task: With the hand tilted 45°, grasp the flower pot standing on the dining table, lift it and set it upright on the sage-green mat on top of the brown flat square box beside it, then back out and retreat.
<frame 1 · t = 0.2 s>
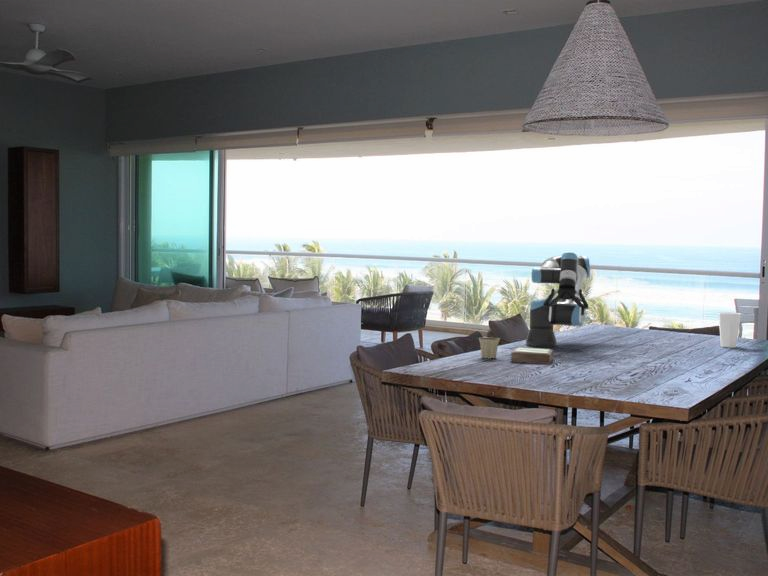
hand: (564, 320, 364), 15 cm above the table, tool tilted 35°, fingers open, 13 cm apart
flower pot: (488, 358, 349), on the table
brown flat square box: (532, 360, 343), on the table
cup: (728, 347, 400), on the table
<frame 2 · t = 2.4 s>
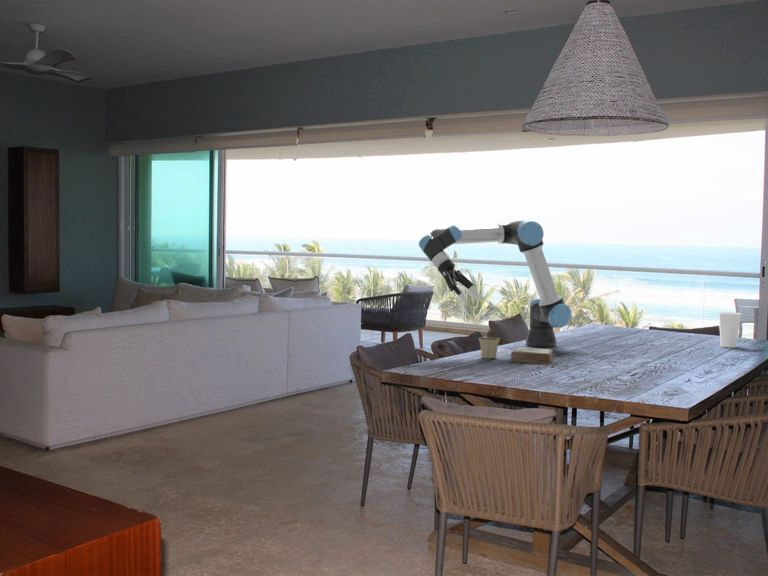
hand: (472, 299, 352), 25 cm above the table, tool tilted 45°, fingers open, 13 cm apart
nothing on the table moved.
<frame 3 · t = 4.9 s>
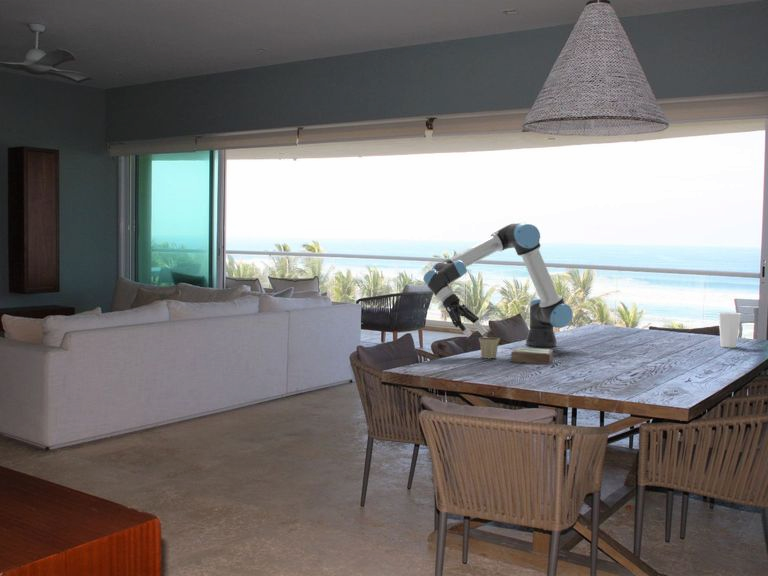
hand: (477, 334, 350), 10 cm above the table, tool tilted 45°, fingers open, 13 cm apart
nothing on the table moved.
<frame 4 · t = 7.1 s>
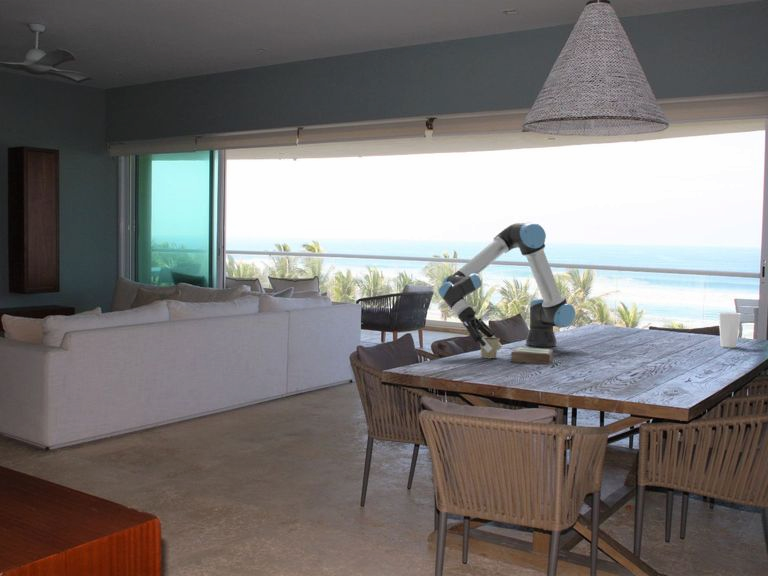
hand: (495, 349, 347), 4 cm above the table, tool tilted 45°, fingers closed on flower pot, 9 cm apart
flower pot: (488, 358, 349), on the table, touching gripper
everything else where it was.
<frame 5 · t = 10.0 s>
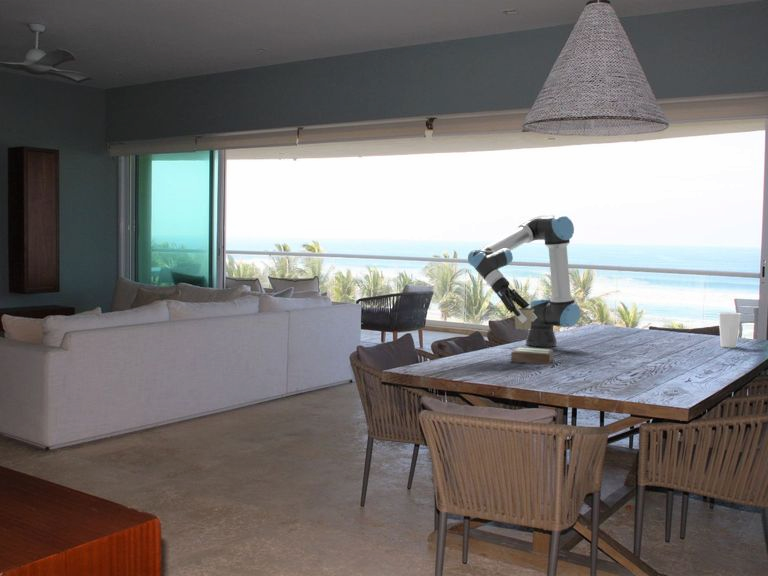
hand: (529, 320, 341), 17 cm above the table, tool tilted 45°, fingers closed on flower pot, 9 cm apart
flower pot: (522, 329, 343), point 13 cm above the table, touching gripper
everything else where it was.
when the fingers open (10 cm above the table, at t = 12.7 s): flower pot drops 1 cm, resting on brown flat square box.
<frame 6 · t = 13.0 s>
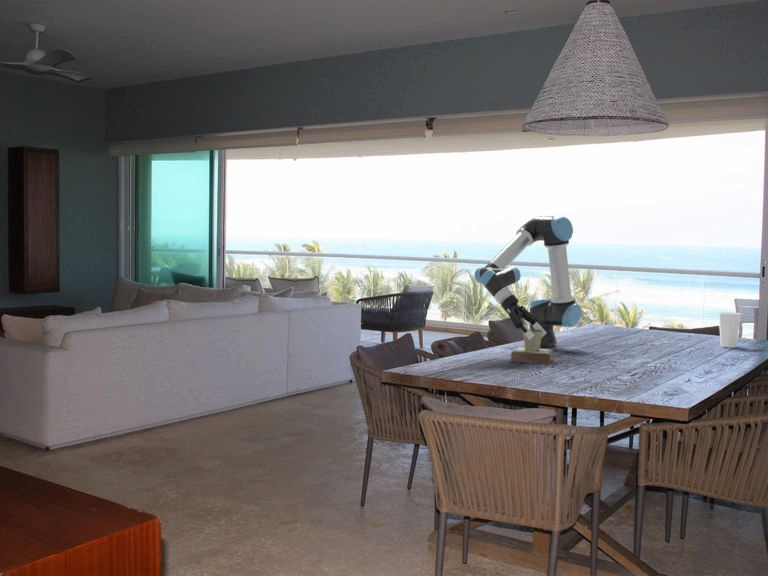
hand: (538, 336, 341), 11 cm above the table, tool tilted 45°, fingers open, 12 cm apart
flower pot: (532, 350, 343), point 4 cm above the table, touching brown flat square box
everything else where it was.
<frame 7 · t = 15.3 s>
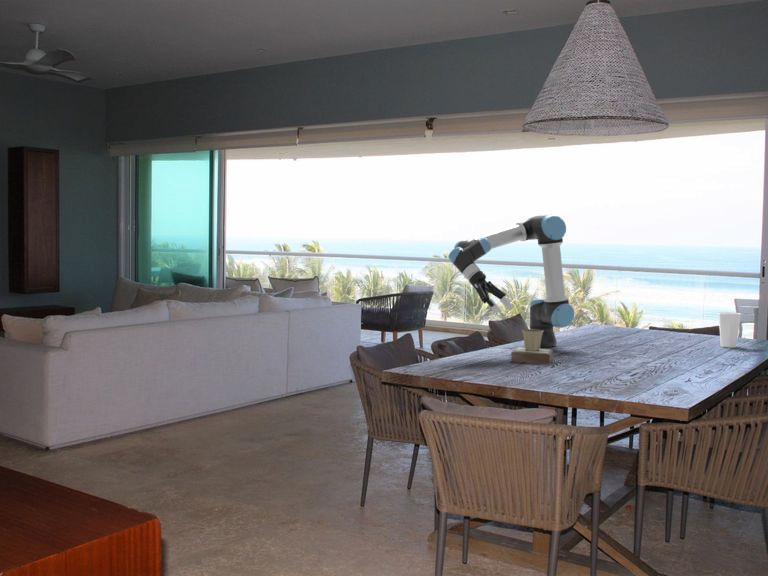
hand: (505, 310, 352), 21 cm above the table, tool tilted 45°, fingers open, 13 cm apart
nothing on the table moved.
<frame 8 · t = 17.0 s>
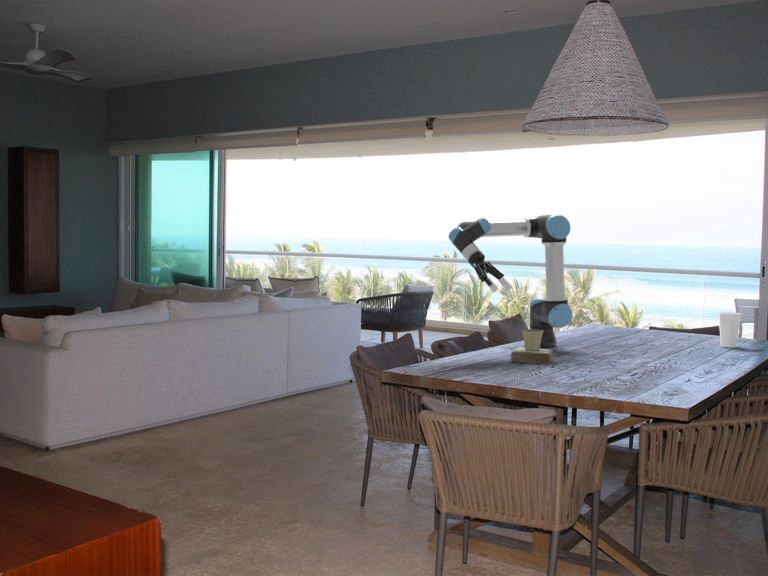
hand: (503, 289, 355), 30 cm above the table, tool tilted 45°, fingers open, 13 cm apart
nothing on the table moved.
at the end: flower pot inside the target area on the brown flat square box (0.3 cm from its centre), point 4.2 cm above the brown flat square box's base; flower pot tilted 0°; the gripper is holding nothing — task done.
